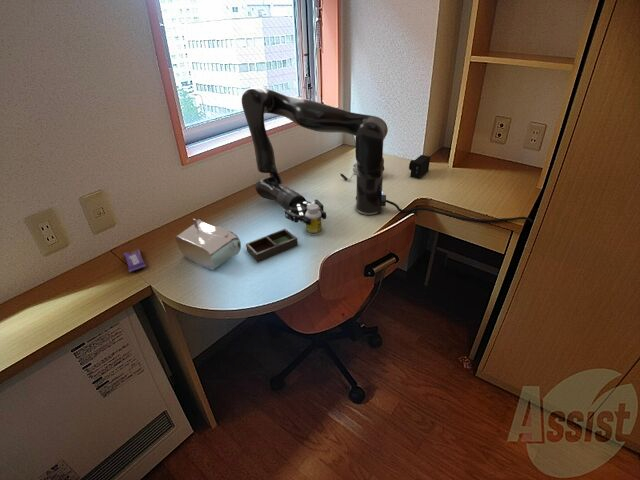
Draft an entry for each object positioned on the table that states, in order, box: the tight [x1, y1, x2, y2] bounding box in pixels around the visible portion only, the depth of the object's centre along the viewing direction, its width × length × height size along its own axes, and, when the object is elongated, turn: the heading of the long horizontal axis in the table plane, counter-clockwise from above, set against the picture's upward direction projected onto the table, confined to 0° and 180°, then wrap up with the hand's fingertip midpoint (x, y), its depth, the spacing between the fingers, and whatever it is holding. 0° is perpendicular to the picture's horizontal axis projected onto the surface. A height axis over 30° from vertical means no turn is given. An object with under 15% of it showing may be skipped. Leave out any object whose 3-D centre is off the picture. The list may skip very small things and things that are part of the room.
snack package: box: [122, 248, 147, 273], centre depth 111 cm, size 12×2×5 cm
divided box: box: [245, 228, 299, 263], centre depth 114 cm, size 8×14×3 cm, turn 125°
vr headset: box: [175, 217, 242, 271], centre depth 109 cm, size 18×11×14 cm, turn 55°
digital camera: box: [408, 154, 431, 180], centre depth 157 cm, size 10×5×7 cm, turn 144°
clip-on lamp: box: [339, 162, 385, 182], centre depth 158 cm, size 12×6×18 cm
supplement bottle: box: [305, 204, 323, 236], centre depth 120 cm, size 5×5×10 cm
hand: (317, 219), depth 117 cm, fingers closed on supplement bottle, 5 cm apart
